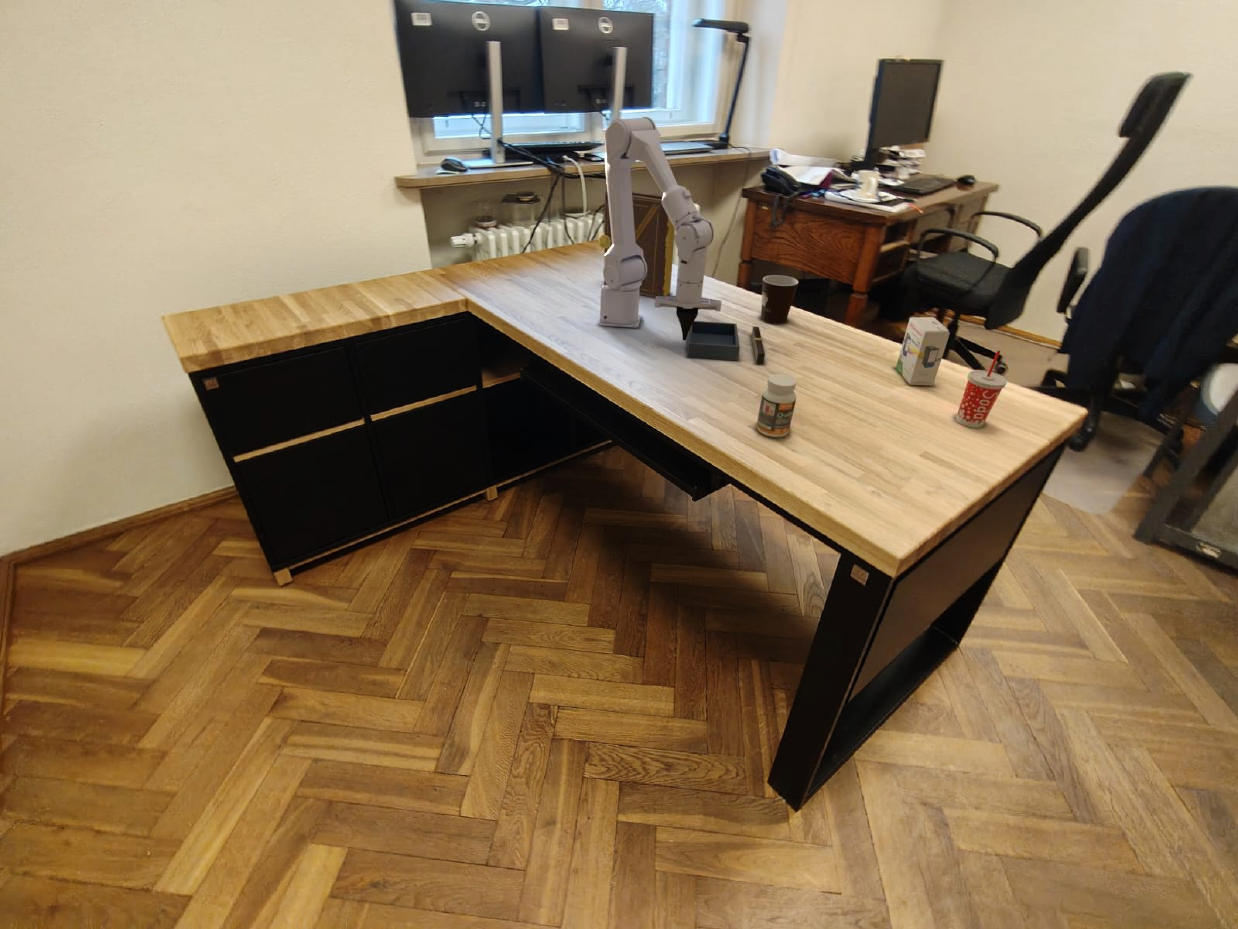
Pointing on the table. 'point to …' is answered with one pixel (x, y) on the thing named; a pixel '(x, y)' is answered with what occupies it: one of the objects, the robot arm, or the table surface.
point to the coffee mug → (777, 298)
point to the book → (648, 241)
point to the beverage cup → (980, 396)
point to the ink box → (922, 350)
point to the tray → (713, 341)
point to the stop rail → (757, 345)
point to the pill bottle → (777, 406)
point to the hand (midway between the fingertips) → (684, 338)
